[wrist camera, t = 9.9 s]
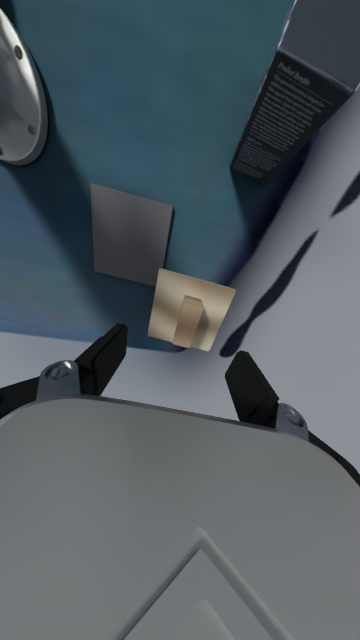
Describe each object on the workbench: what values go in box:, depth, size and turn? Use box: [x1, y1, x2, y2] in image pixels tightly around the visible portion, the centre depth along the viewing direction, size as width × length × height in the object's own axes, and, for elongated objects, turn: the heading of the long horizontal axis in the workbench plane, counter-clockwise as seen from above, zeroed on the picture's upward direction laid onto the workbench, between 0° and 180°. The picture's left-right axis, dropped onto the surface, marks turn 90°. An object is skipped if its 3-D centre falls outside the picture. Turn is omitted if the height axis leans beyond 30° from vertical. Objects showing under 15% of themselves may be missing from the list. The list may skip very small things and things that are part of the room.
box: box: [230, 0, 360, 185], centre depth 11 cm, size 8×6×11 cm
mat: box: [90, 183, 173, 287], centre depth 21 cm, size 12×12×1 cm
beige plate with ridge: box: [147, 268, 236, 351], centre depth 18 cm, size 11×11×5 cm
